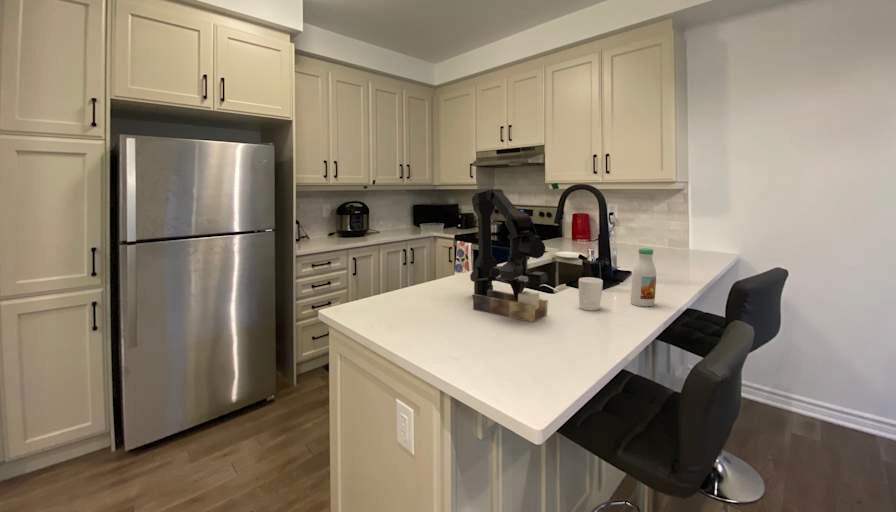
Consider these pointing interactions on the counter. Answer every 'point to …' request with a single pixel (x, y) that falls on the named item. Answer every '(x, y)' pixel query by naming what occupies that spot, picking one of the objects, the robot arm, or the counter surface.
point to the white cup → (590, 293)
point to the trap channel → (509, 306)
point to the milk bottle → (644, 279)
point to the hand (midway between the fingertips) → (517, 299)
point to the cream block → (529, 298)
